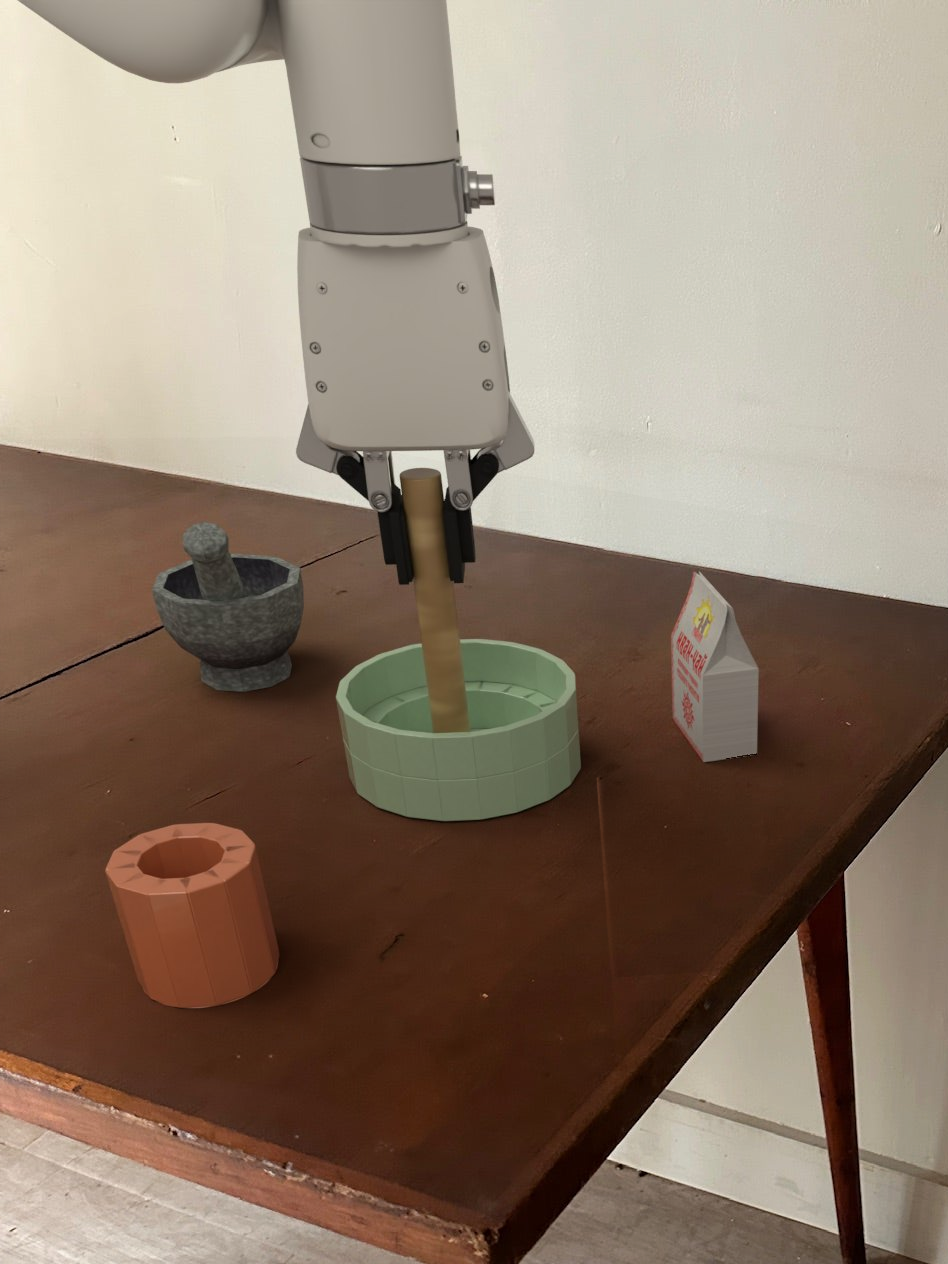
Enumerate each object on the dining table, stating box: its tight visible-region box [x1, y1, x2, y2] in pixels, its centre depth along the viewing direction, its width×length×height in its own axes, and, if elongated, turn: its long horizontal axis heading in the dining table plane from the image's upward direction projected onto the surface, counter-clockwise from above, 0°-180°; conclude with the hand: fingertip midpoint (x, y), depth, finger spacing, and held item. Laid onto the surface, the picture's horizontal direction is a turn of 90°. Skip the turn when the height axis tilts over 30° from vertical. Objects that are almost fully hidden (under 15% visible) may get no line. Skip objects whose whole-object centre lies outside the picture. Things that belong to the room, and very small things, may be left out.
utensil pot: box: [104, 822, 281, 1009], centre depth 70 cm, size 7×7×7 cm
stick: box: [399, 467, 471, 733], centre depth 82 cm, size 2×2×17 cm
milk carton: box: [670, 571, 760, 763], centre depth 92 cm, size 4×7×10 cm, turn 20°
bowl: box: [335, 638, 582, 822], centre depth 88 cm, size 14×14×6 cm
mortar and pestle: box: [151, 521, 305, 693], centre depth 97 cm, size 11×9×12 cm
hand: (432, 573), depth 80 cm, fingers closed on stick, 2 cm apart
